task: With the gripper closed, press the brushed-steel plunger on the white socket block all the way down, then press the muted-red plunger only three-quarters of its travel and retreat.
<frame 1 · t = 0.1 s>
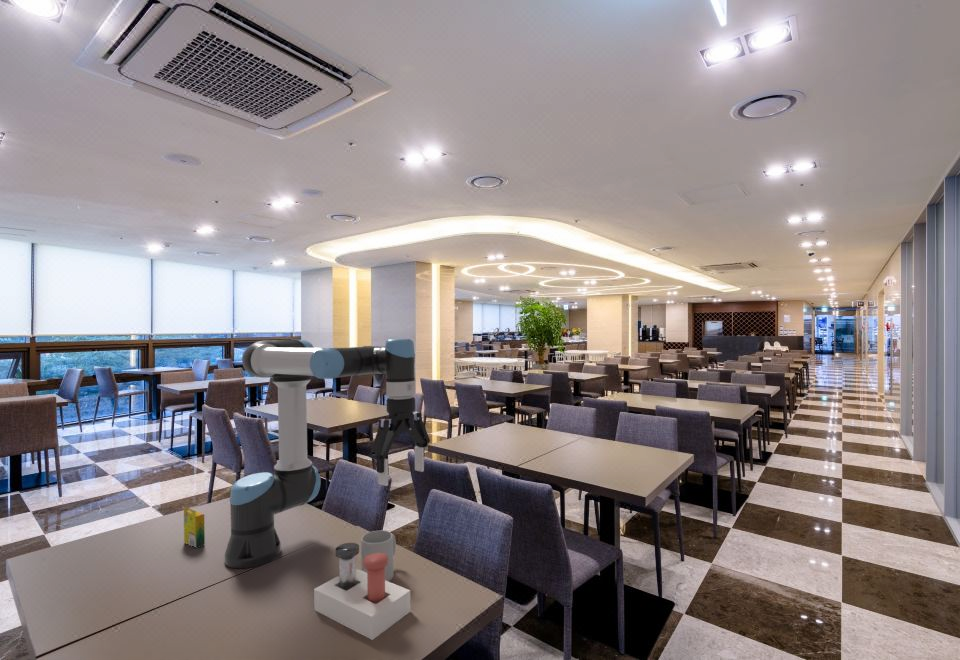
hand: (402, 477, 121), 28 cm above the table, fingers open, 13 cm apart
crayon box: (194, 544, 146), on the table
mug: (381, 575, 126), on the table
white socket block: (362, 610, 109), on the table
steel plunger: (347, 566, 112), point 9 cm above the table, slide at 0.0 cm
red plunger: (376, 578, 106), point 9 cm above the table, slide at 0.0 cm
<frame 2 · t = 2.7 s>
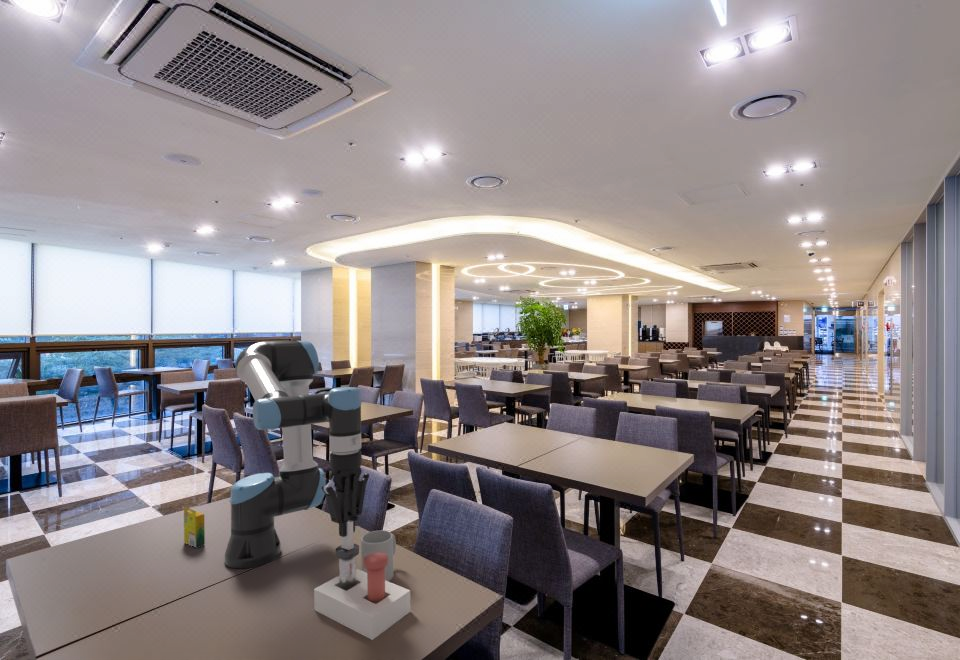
hand: (347, 547, 112), 14 cm above the table, fingers closed
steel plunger: (347, 567, 112), point 9 cm above the table, slide at 0.1 cm, touching gripper
everything else where it was.
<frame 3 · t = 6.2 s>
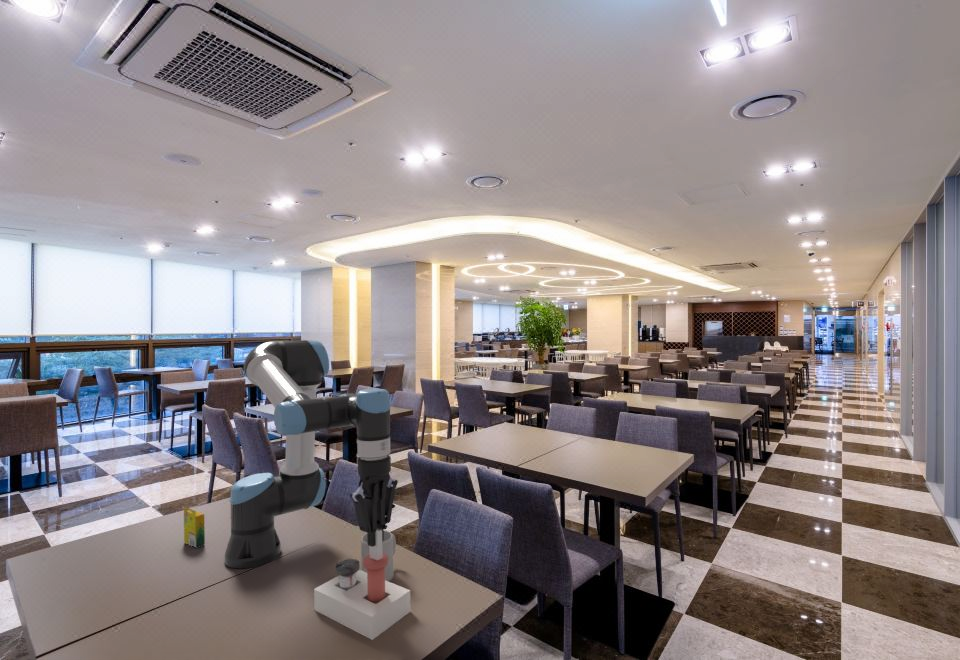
hand: (376, 557, 106), 14 cm above the table, fingers closed
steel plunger: (347, 583, 112), point 5 cm above the table, slide at 4.1 cm
red plunger: (376, 578, 106), point 9 cm above the table, slide at 0.0 cm, touching gripper
everything else where it was.
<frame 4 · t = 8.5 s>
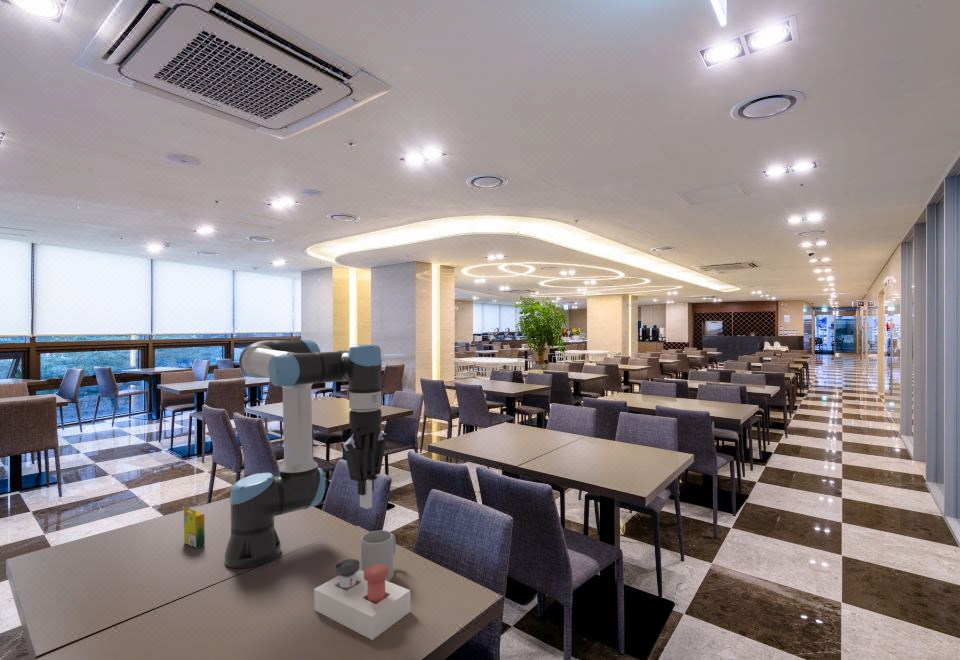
hand: (365, 506, 110), 24 cm above the table, fingers closed
red plunger: (376, 590, 106), point 6 cm above the table, slide at 2.7 cm
everything else where it was.
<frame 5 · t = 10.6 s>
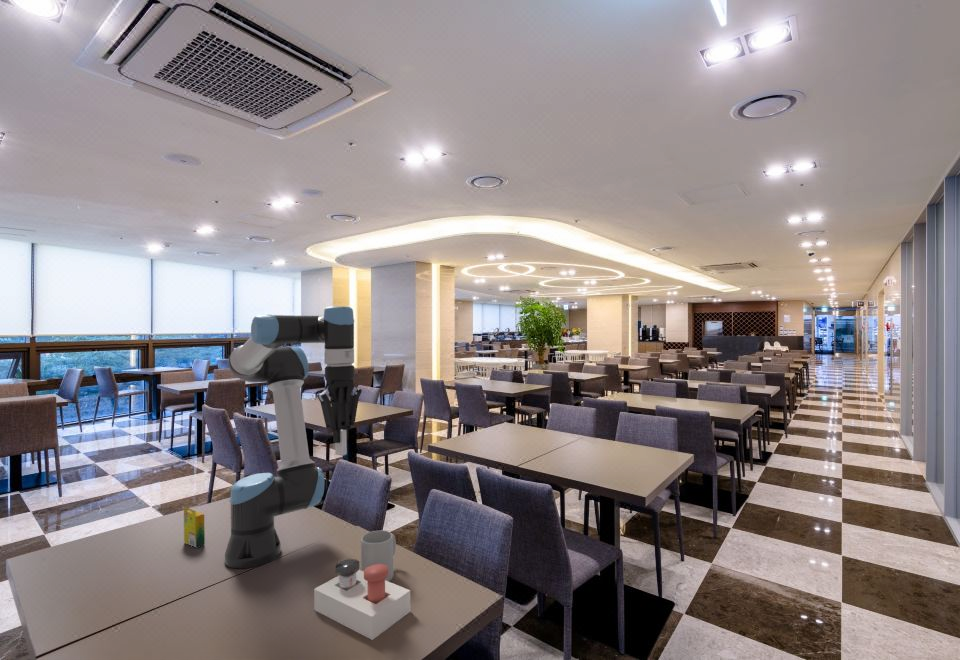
hand: (341, 454, 121), 34 cm above the table, fingers closed
nothing on the table moved.
at the end: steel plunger slide at 4.1 cm; red plunger slide at 2.7 cm; red plunger touching nothing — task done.
